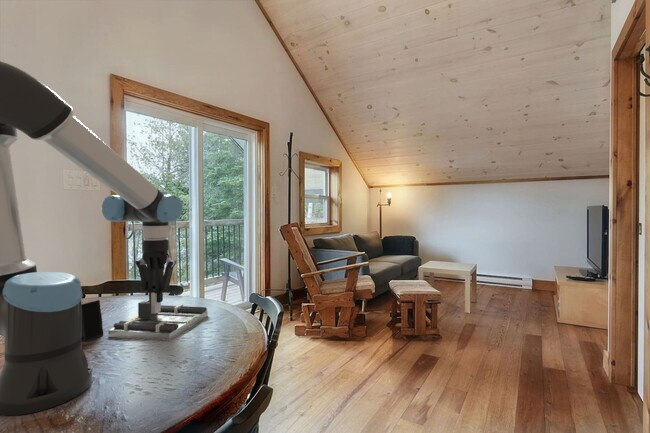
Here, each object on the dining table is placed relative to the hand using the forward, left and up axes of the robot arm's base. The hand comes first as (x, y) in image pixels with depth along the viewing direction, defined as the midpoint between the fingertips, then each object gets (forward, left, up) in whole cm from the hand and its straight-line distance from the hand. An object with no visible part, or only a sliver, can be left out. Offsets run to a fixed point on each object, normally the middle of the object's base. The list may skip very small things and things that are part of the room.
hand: (155, 312), depth 105 cm
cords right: (+8, -3, -2) cm, 9 cm away
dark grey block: (0, +3, -2) cm, 3 cm away
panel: (-1, -3, -4) cm, 5 cm away
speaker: (-12, +13, -4) cm, 18 cm away
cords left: (-9, -3, -2) cm, 10 cm away
